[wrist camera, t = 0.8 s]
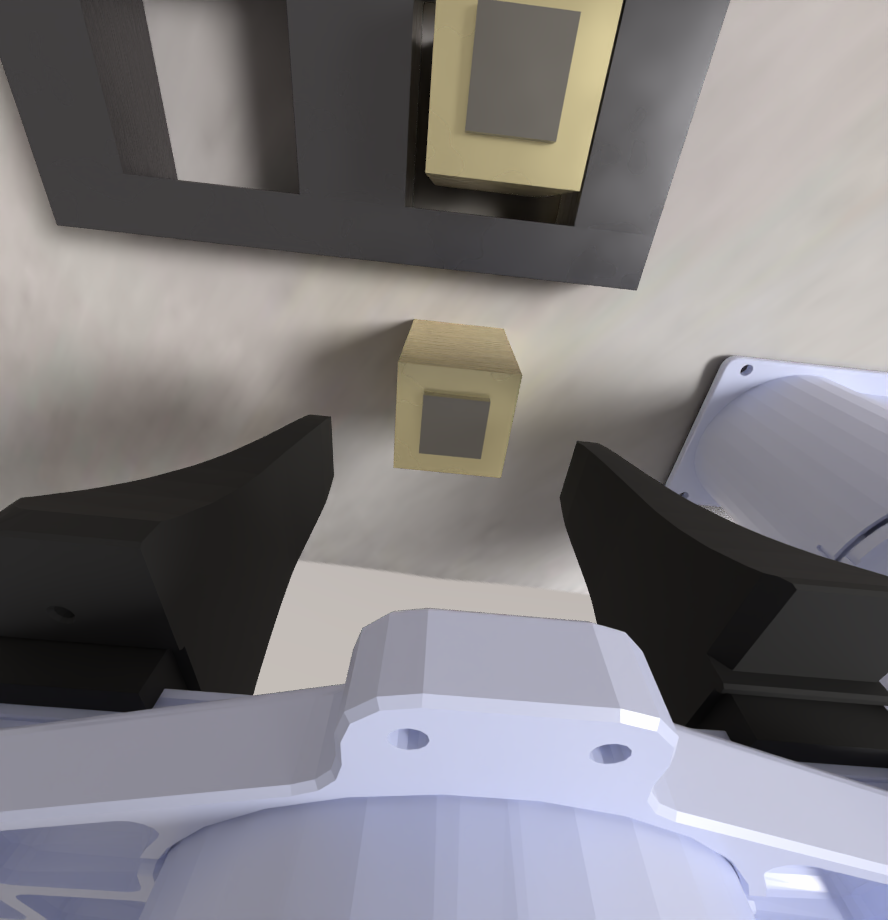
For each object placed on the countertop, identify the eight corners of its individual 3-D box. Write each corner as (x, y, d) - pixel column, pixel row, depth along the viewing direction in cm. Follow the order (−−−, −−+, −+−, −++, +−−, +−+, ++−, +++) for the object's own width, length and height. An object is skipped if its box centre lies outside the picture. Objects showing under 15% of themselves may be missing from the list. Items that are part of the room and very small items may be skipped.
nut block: (503, 328, 18) (523, 378, 13) (489, 410, 20) (501, 482, 15) (414, 319, 18) (396, 365, 13) (409, 402, 20) (392, 472, 15)
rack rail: (701, -43, 12) (765, -109, 10) (609, 278, 17) (636, 290, 14) (21, -138, 12) (-99, -235, 9) (119, 223, 16) (57, 225, 14)
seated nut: (565, 55, 14) (637, -46, 8) (539, 197, 16) (582, 190, 10) (446, 40, 14) (439, -74, 8) (435, 185, 16) (424, 172, 10)
